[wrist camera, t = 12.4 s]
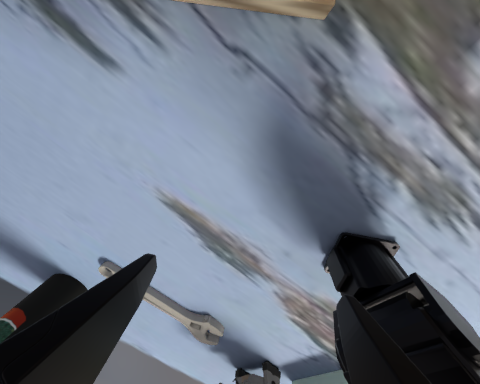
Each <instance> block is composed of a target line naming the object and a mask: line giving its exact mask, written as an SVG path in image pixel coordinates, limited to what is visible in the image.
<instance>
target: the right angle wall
mask: <svg viewBox="0 0 480 384" xmlns="http://www.w3.org/2000/svg"><path fill="white" fill-rule="evenodd" d="M292 384H348V382H347V381H346V379H345V377H344V375H343V370H338V371H333V372H329V373H324V374H320V375H316V376H311V377H307V378H303V379H298V380H294V381H292Z"/></svg>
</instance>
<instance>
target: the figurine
mask: <svg viewBox="0 0 480 384" xmlns="http://www.w3.org/2000/svg"><path fill="white" fill-rule="evenodd" d="M262 368H263V373H264V378H263V377H261V376H258V375H255V374H248V373H245V372H244V370H243V371H242V369H237V370H236V374H235V377H236V378H235V379H234V381H235V380H236V384H280V375H281V372H280V371H279V369H278V368H276V367H275V366H272V364H271V363H269V362H268V361H267V362H264V363H262ZM234 381H233V382H234ZM219 384H222V383H219Z"/></svg>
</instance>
